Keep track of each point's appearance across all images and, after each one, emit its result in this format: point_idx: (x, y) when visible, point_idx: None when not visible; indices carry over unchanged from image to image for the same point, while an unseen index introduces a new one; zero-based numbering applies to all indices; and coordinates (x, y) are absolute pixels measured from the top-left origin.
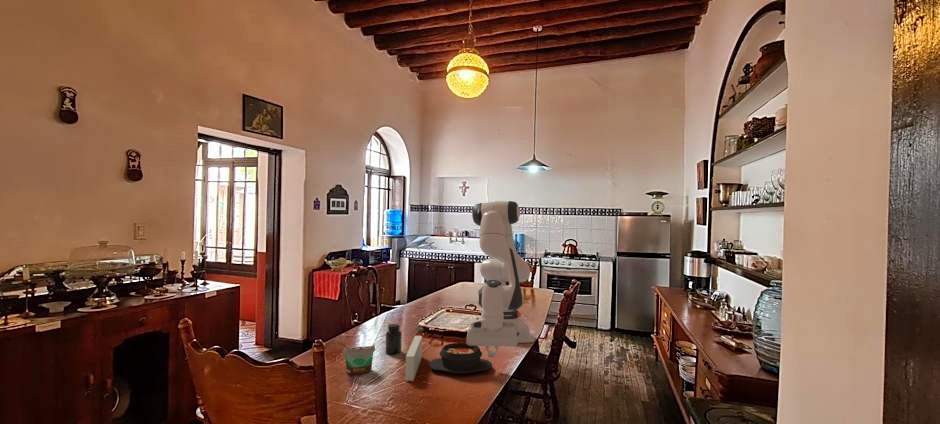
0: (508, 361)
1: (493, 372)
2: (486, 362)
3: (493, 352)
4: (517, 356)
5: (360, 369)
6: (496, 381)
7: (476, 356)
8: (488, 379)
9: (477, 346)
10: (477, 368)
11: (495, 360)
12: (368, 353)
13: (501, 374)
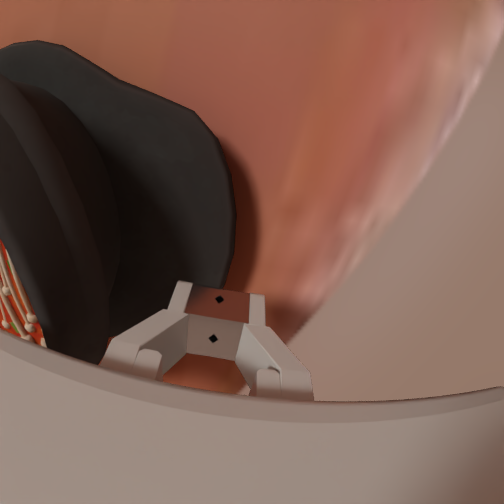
0: (426, 86)
1: (234, 285)
2: (187, 209)
3: (234, 348)
4: (500, 26)
5: None
6: (226, 380)
7: None
8: (188, 359)
9: (13, 254)
10: (114, 313)
11: (324, 29)
12: None
13: (280, 318)
